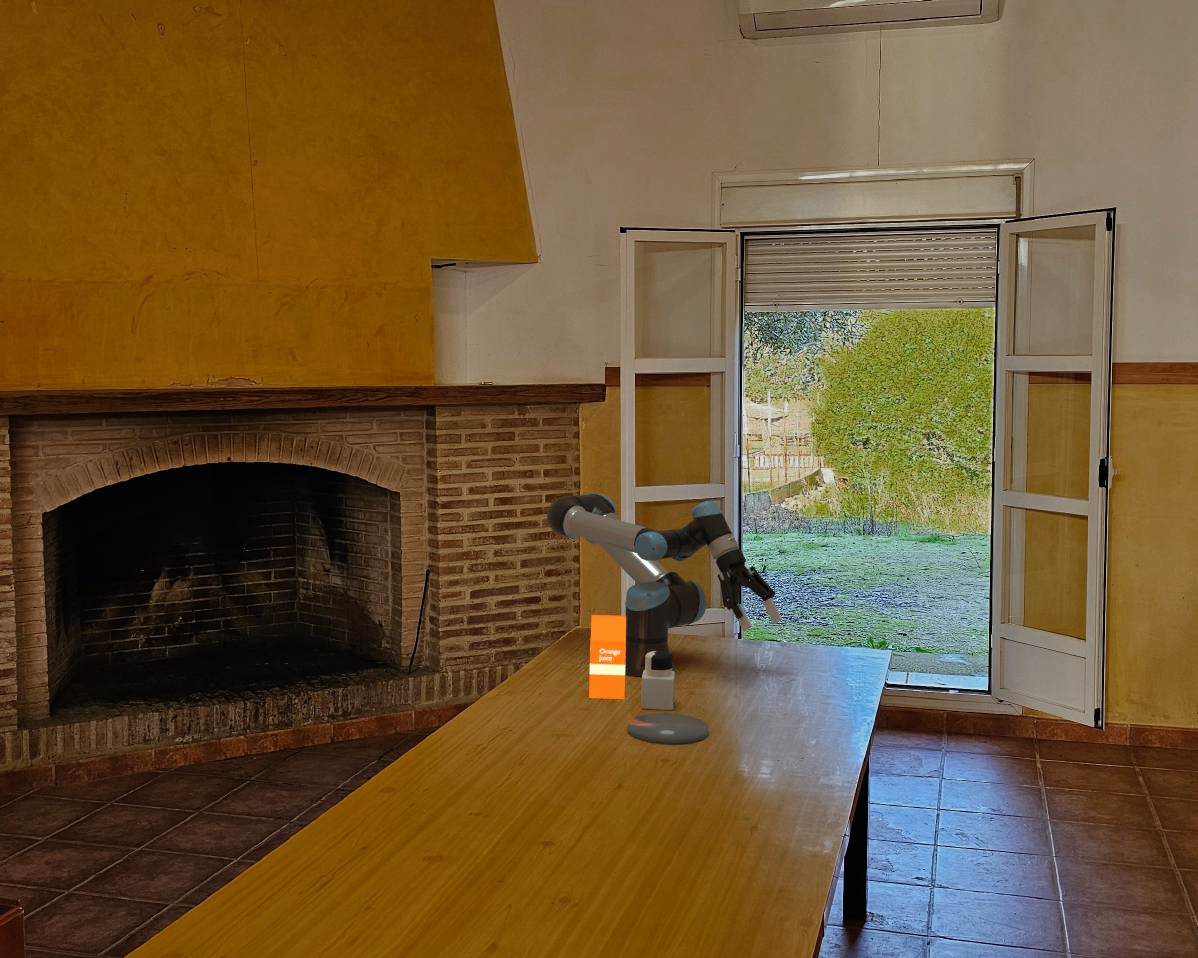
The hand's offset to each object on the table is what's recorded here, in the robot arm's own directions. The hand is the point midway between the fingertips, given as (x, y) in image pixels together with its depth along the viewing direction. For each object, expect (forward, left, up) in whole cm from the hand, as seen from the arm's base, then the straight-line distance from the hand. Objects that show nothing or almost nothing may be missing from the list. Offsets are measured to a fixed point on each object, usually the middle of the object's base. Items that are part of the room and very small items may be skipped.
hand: (763, 625), depth 292 cm
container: (-5, -36, -16) cm, 40 cm away
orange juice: (-20, -38, -16) cm, 46 cm away
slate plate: (+10, -50, -15) cm, 54 cm away
